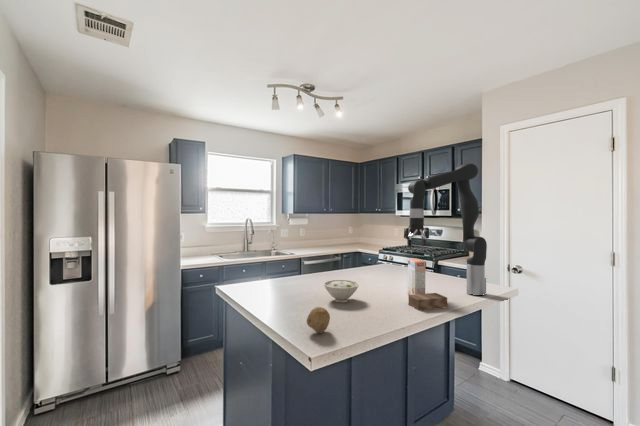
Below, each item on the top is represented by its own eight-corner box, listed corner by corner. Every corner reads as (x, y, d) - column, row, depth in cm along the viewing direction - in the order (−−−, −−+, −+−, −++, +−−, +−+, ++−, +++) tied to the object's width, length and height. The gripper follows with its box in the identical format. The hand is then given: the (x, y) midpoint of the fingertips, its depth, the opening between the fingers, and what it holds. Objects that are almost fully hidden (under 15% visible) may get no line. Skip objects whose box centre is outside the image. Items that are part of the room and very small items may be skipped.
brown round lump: (304, 336, 112) (304, 310, 112) (309, 327, 121) (309, 303, 121) (328, 338, 111) (328, 311, 111) (331, 329, 120) (331, 304, 120)
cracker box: (426, 301, 157) (426, 261, 157) (414, 301, 158) (414, 261, 158) (417, 294, 171) (417, 257, 171) (407, 294, 172) (407, 257, 172)
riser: (436, 302, 156) (436, 292, 156) (447, 307, 147) (447, 297, 147) (408, 304, 152) (408, 294, 152) (418, 310, 143) (418, 299, 143)
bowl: (358, 295, 168) (358, 278, 168) (359, 306, 149) (360, 286, 149) (324, 294, 170) (324, 277, 170) (321, 305, 151) (321, 285, 151)
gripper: (424, 216, 170) (424, 245, 170) (401, 216, 166) (401, 245, 166) (432, 217, 163) (432, 246, 163) (408, 217, 159) (408, 247, 159)
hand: (416, 246), depth 164 cm, fingers open, 8 cm apart
